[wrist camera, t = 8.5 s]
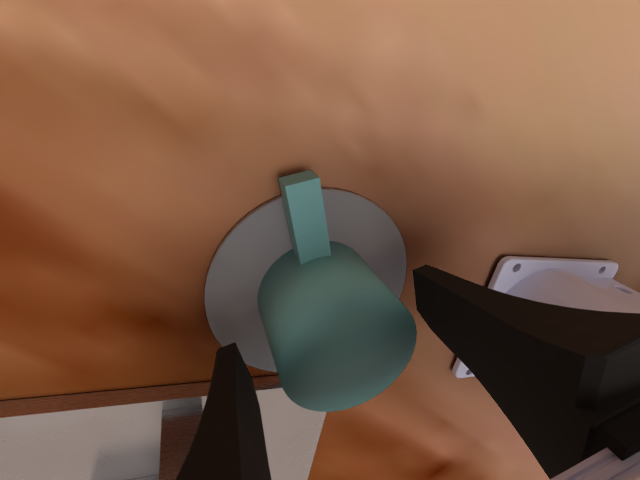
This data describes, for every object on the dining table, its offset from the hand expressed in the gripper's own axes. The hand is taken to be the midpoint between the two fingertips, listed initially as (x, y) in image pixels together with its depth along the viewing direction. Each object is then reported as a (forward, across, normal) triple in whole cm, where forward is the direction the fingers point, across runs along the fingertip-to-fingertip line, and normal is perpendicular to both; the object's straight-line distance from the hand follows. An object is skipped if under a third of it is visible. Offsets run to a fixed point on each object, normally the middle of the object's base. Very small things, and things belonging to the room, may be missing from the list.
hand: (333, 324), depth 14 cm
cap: (+2, 0, -1) cm, 3 cm away
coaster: (+3, 0, 0) cm, 3 cm away
